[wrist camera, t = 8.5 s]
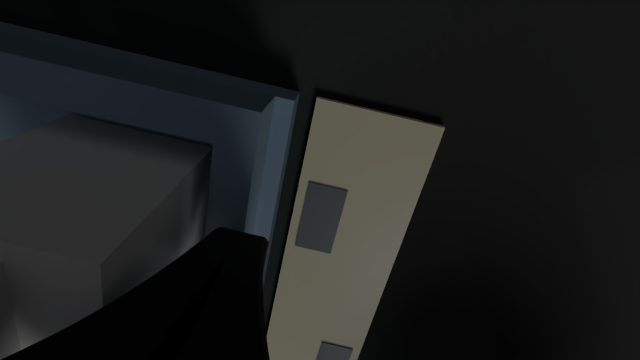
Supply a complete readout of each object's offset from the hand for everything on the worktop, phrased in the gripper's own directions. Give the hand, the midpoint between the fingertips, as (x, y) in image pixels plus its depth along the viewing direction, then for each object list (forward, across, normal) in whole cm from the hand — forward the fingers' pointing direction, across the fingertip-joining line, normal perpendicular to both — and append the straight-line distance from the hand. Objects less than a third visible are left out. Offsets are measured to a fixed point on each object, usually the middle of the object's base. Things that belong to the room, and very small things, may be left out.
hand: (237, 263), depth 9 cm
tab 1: (+2, +4, 0) cm, 4 cm away
